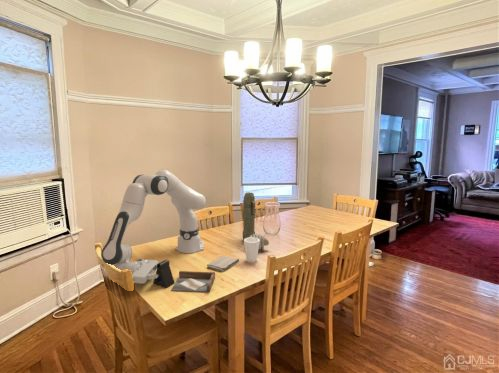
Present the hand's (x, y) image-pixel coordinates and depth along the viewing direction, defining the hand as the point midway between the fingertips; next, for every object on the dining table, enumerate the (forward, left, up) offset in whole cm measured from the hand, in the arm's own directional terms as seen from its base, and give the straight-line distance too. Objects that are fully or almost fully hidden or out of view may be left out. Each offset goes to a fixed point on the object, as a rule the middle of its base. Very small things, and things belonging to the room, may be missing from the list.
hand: (161, 271), depth 161 cm
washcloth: (-26, +28, -7) cm, 39 cm away
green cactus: (-68, +40, -7) cm, 79 cm away
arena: (0, +17, -6) cm, 18 cm away
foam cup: (-34, +44, -7) cm, 56 cm away
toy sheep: (-51, +46, -7) cm, 69 cm away
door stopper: (0, +1, -7) cm, 7 cm away
